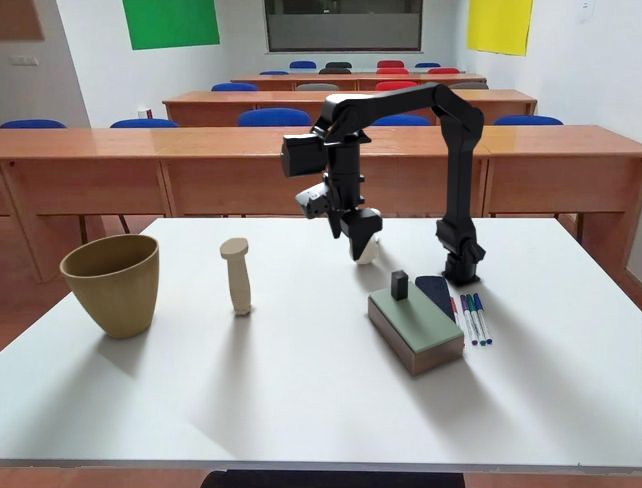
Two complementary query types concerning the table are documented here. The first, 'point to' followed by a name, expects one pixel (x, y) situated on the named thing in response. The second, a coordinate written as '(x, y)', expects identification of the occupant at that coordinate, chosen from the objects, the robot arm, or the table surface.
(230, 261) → the handle
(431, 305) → the sliding door
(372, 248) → the cream round ball
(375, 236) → the milkshake
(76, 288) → the plant pot
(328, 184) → the robot arm
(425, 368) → the brown wooden box
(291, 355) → the table surface
